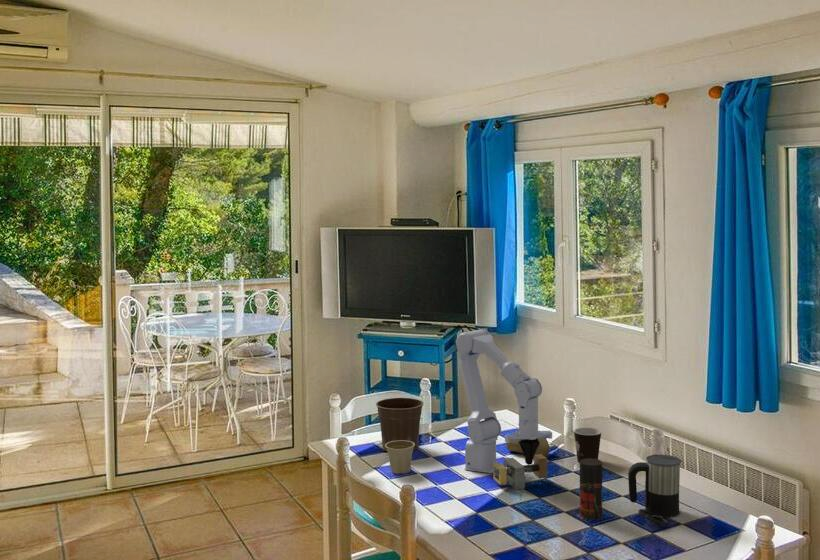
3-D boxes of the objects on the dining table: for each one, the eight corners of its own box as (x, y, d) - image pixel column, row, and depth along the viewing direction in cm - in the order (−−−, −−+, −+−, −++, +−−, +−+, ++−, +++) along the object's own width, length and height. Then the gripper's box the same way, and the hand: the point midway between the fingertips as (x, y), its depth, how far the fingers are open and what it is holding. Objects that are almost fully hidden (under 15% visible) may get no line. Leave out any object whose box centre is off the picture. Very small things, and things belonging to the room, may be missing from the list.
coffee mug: (601, 466, 273) (601, 435, 272) (573, 465, 275) (573, 434, 274) (600, 454, 284) (600, 425, 283) (574, 453, 286) (574, 424, 285)
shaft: (497, 483, 255) (497, 463, 254) (492, 478, 259) (492, 459, 259) (547, 477, 259) (546, 458, 258) (541, 472, 263) (541, 453, 263)
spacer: (500, 485, 255) (500, 468, 254) (493, 478, 260) (493, 462, 260) (506, 484, 255) (506, 468, 254) (499, 478, 261) (499, 462, 260)
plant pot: (403, 438, 307) (402, 394, 305) (434, 448, 295) (433, 402, 293) (367, 448, 297) (366, 402, 295) (397, 459, 285) (396, 411, 283)
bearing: (515, 489, 254) (515, 468, 253) (503, 479, 263) (503, 458, 262) (524, 488, 255) (524, 467, 254) (513, 478, 264) (512, 457, 263)
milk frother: (671, 504, 240) (672, 452, 238) (698, 526, 224) (698, 471, 223) (622, 508, 238) (623, 456, 236) (645, 530, 222) (646, 475, 221)
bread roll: (512, 446, 296) (512, 423, 295) (554, 452, 289) (554, 428, 288) (501, 454, 287) (501, 431, 286) (544, 460, 280) (544, 436, 279)
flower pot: (380, 474, 270) (380, 447, 269) (392, 464, 279) (392, 439, 278) (408, 477, 267) (408, 450, 266) (419, 467, 275) (419, 441, 274)
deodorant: (577, 512, 236) (577, 458, 234) (598, 510, 236) (598, 457, 235) (583, 520, 230) (583, 466, 228) (605, 519, 230) (605, 464, 229)
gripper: (510, 425, 252) (511, 470, 254) (556, 420, 256) (556, 465, 257) (502, 418, 259) (502, 462, 260) (546, 414, 263) (546, 457, 264)
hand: (528, 463), depth 259 cm, fingers closed
